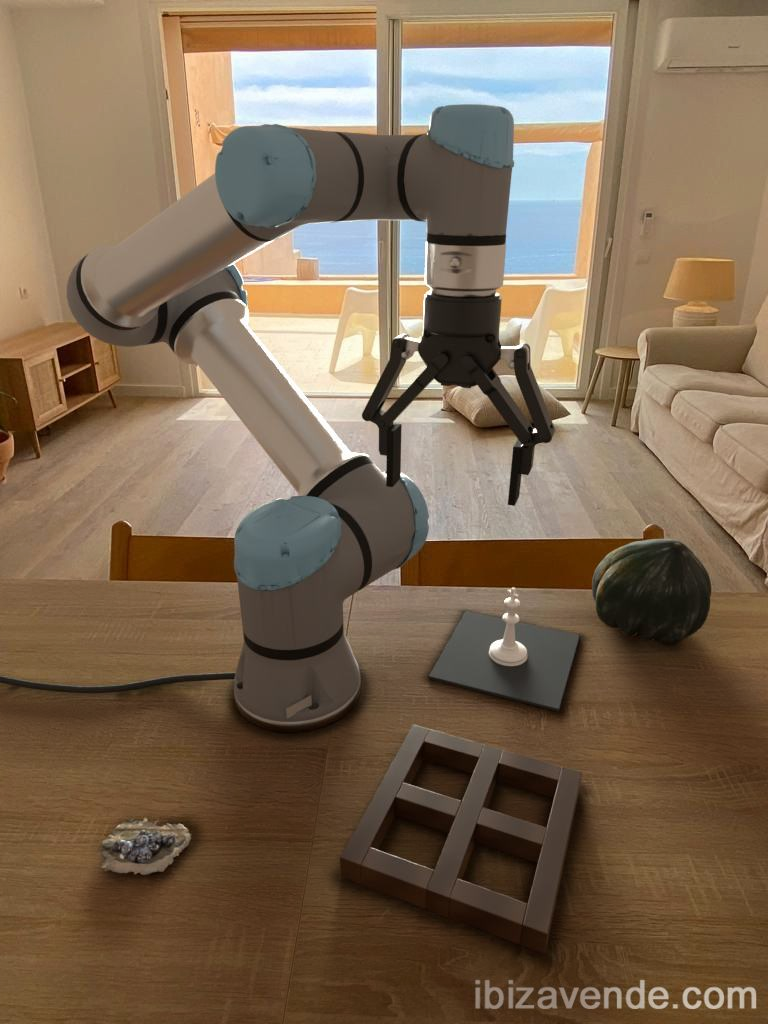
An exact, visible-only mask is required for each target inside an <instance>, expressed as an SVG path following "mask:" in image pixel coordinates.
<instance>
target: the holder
mask: <svg viewBox="0 0 768 1024" xmlns="http://www.w3.org/2000/svg"><path fill="white" fill-rule="evenodd" d="M424 760H425V761H429V762H432V763H435V764H439V765H442V766H445V767H449V768H451V769H455V770H459V771H461V772H464V773H469V774H472V775H471V777H470V780H469V782H468V785H467V786H466V790H465V792H464V795H463V797H462V800H460V799H457V798H453V797H451V796H447V795H444V794H441V793H437V792H435V791H431V790H428V789H425V788H422V787H419V786H415V785H412V783H413V781H414V779H415V777H416V775H417V773H418V771H419V769H420V768H421V765H422V763H423V761H424ZM389 765H390V766H389V767H388V769H387V771H386V772H385V774H384V776H383V778H382V780H381V782H380V784H379V785H378V787H377V789H376V790H375V792H374V795H373V796H372V798H371V800H370V802H369V804H368V806H367V807H366V809H365V811H364V813H363V815H362V816H361V818H360V820H359V822H358V823H357V826H356V827H355V829H354V831H353V833H352V834H351V837H350V838H349V840H348V842H347V843H346V846H345V847H344V849H343V851H342V853H341V854H340V856H339V864H340V877H341V878H343V879H345V880H348V881H351V882H353V883H356V884H359V885H361V886H363V887H367V888H369V889H371V890H374V891H377V892H379V893H382V894H385V895H388V896H389V897H393V898H396V899H398V900H401V901H403V902H406V903H409V904H412V905H414V906H417V907H419V908H422V909H424V910H426V911H429V912H432V913H435V914H437V915H440V916H442V917H445V918H447V919H448V918H449V919H451V920H452V921H453V920H454V921H456V922H458V923H461V924H464V925H467V926H468V927H469V926H470V927H472V928H474V929H478V930H480V931H483V932H484V933H485V932H486V933H488V934H490V935H493V936H496V937H499V938H501V939H504V940H506V941H509V942H512V943H514V944H517V945H520V946H522V947H524V948H526V949H529V950H532V951H535V952H538V953H541V954H543V955H546V952H547V947H548V943H549V938H550V933H551V928H552V923H553V919H554V914H555V909H556V904H557V900H558V896H559V890H560V885H561V881H562V875H563V872H564V871H563V870H564V866H565V862H566V857H567V851H568V847H569V843H570V838H571V833H572V828H573V823H574V819H575V813H576V809H577V805H578V800H579V795H580V791H581V790H580V789H581V783H582V775H583V772H582V771H580V770H576V769H573V768H568V767H565V766H562V765H558V764H556V763H555V764H554V763H551V762H547V761H544V760H541V759H537V758H533V757H530V756H527V755H523V754H519V753H516V752H512V751H509V750H505V749H503V748H502V749H501V748H498V747H495V746H492V745H487V744H483V743H480V742H477V741H473V740H470V739H466V738H462V737H459V736H455V735H453V734H452V735H451V734H448V733H445V732H443V731H442V732H441V731H439V730H434V729H430V728H427V727H423V726H419V725H416V724H412V725H411V727H410V729H409V731H408V732H407V734H406V736H405V738H404V740H403V741H402V743H401V745H400V747H399V749H398V750H397V753H396V755H395V756H394V758H393V760H392V762H391V763H390V764H389ZM497 782H498V783H502V784H505V785H508V786H511V787H514V788H519V789H522V790H525V791H529V792H532V793H536V794H539V795H541V796H546V797H548V798H551V799H552V798H553V800H552V805H551V809H550V813H549V816H548V821H547V825H546V826H543V825H539V824H537V823H534V822H530V821H527V820H525V819H520V818H517V817H514V816H511V815H508V814H505V813H503V812H498V811H495V810H492V809H489V808H488V807H489V805H490V801H491V799H492V796H493V793H494V792H495V791H494V790H495V788H496V785H497ZM396 817H399V818H401V819H404V820H408V821H411V822H413V823H416V824H419V825H423V826H426V827H428V828H432V829H434V830H438V831H440V832H443V833H446V834H447V837H446V840H445V842H444V845H443V846H442V847H443V848H442V850H441V853H440V855H439V857H438V861H437V863H436V865H435V867H434V869H433V868H430V867H427V866H424V865H421V864H419V863H416V862H413V861H410V860H407V859H405V858H402V857H399V856H396V855H393V854H390V853H387V852H386V851H385V852H384V851H382V850H379V849H380V847H381V846H382V843H383V841H384V840H385V838H386V835H387V833H388V832H389V830H390V827H391V825H392V823H393V822H394V819H395V818H396ZM476 844H479V845H482V846H485V847H488V848H491V849H494V850H497V851H500V852H503V853H506V854H509V855H512V856H514V857H517V858H520V859H523V860H527V861H530V862H532V863H535V864H537V865H536V868H535V872H534V877H533V881H532V884H531V889H530V893H529V897H528V901H527V902H524V901H522V900H519V899H516V898H514V897H510V896H509V895H505V894H502V893H500V892H496V891H495V890H491V889H488V888H486V887H483V886H480V885H477V884H474V883H471V882H469V881H466V880H463V878H464V875H465V874H466V873H465V872H466V871H467V867H468V865H469V862H470V859H471V855H472V852H473V850H474V847H475V845H476Z"/></svg>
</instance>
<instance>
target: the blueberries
mask: <svg viewBox="0 0 768 1024" xmlns="http://www.w3.org/2000/svg"><path fill="white" fill-rule="evenodd" d="M158 822H159V819H157V820H156V821H154V823H153V821H151V822H150V821H148V818H147V817H144V818H143V820H142V821H141V820H140V819H138V820H137V819H136V820H135V819H133V818H132V819H125V821H124V822H121V823H120V824H118V825H117V826H116V827H115V828H114V829H113V830H112V831H111V834H108V837H106V838H104V839H103V840H102V841H100V843H101V844H100V846H102V848H103V849H102V850H101V851H100V853H101V856H104V857H105V858H106V859H105V860H104V861H103V862H102V863H101V865H102V866H101V867H100V869H103V872H107V871H109V870H110V871H111V872H112V873H118V874H128V873H133V875H137V874H139V873H140V875H143V876H146V875H150V874H152V873H156V872H159V873H162V872H164V871H165V870H166V869H167V867H168V866H170V865H172V864H173V862H174V861H175V859H174V858H176V857H178V856H180V853H182V852H183V851H184V849H185V848H187V847H189V845H190V842H191V841H192V833H190V832H189V828H188V827H185V826H184V824H181V823H178V824H176V823H174V824H170V823H168V822H166V823H165V824H164V825H160V826H159V825H156V824H157V823H158Z"/></svg>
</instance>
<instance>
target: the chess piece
mask: <svg viewBox="0 0 768 1024" xmlns="http://www.w3.org/2000/svg"><path fill="white" fill-rule="evenodd" d="M506 592H507V594H508V595H509V597H508V598H507V597H506V598H505V600H504V601H503V604H504V608H505V611H506V613H504V614H503V615H502V618H501V619H503V620H504V621H505V622H507V624H506V629H505V633H504V638H503V640H498V641H496V642H494V643H493V644H492V645H491V646H490V650H489V656H490V658H491V659H492V660H493V661H495V662H496V663H498V664H501V665H504V666H517V665H521V664H523V663H524V662H525V661H526V660H527V650H526V648H525V647H524V646H523V645H522V644H521V643H519V642H517V641H516V640H515V623H517V622H520V620H521V619H520V616H519V615H518V614H517V612H518V611H519V608H520V606H521V601H520V600H519V597H520V595H519V594H518V593H517V588H516V587H515V586H512V587H511V588H510V589H507V591H506Z"/></svg>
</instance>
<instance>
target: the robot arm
mask: <svg viewBox="0 0 768 1024" xmlns="http://www.w3.org/2000/svg"><path fill="white" fill-rule="evenodd" d="M514 134H515V120H514V116H513V114H512V113H511V111H510V110H509V109H507V108H505V106H500V105H494V104H493V105H492V104H481V103H480V104H476V103H475V104H474V103H473V104H472V103H468V104H465V103H464V104H463V103H462V104H460V103H459V104H447V105H444V106H443V105H441V106H437V107H436V108H434V109H433V110H432V112H431V114H430V118H429V127H428V129H427V132H426V133H419V134H372V133H361V132H347V131H332V130H321V129H308V128H299V127H288V126H286V125H282V124H279V123H273V124H270V123H265V124H261V125H245V126H239V127H237V128H235V129H233V130H232V131H230V132H229V133H228V134H227V135H226V136H225V137H224V138H223V140H222V143H221V145H222V147H221V150H220V151H219V152H218V153H217V155H216V159H215V163H214V164H215V165H214V173H213V174H211V175H210V176H208V177H207V178H206V179H204V180H203V181H202V182H201V183H199V184H198V185H196V186H195V187H194V188H192V189H191V190H190V191H188V192H187V193H185V194H184V195H183V196H182V197H180V198H178V200H176V201H174V203H172V204H171V205H169V206H168V207H166V208H165V209H164V210H162V211H161V212H159V214H157V215H156V216H155V217H153V218H152V219H150V220H149V221H148V222H146V223H145V224H144V225H142V226H141V227H140V228H138V229H137V230H135V231H134V232H133V233H131V234H130V235H129V236H127V237H126V238H124V239H123V240H121V242H119V243H118V244H104V245H100V246H98V247H96V248H94V249H93V250H91V251H90V252H89V253H87V254H86V255H85V256H83V257H82V258H81V259H79V260H78V262H76V264H75V266H74V267H73V268H72V270H71V272H70V274H69V276H68V279H67V284H66V299H67V305H68V307H69V310H70V313H71V315H72V316H73V318H74V319H75V321H76V323H77V324H78V325H79V326H80V327H81V328H82V329H83V330H84V331H85V332H86V333H88V334H89V335H90V336H91V337H92V338H94V339H96V340H99V341H101V342H103V343H105V344H108V345H112V346H116V347H123V348H124V347H125V348H126V347H127V348H130V347H131V348H132V347H133V348H134V347H140V346H147V345H153V344H159V343H165V344H166V345H168V347H169V348H170V349H171V351H172V352H173V353H174V355H175V356H176V357H177V358H178V360H180V361H181V362H182V363H185V364H188V365H197V366H198V367H199V368H200V369H201V371H202V372H203V374H204V375H205V376H206V378H207V379H208V380H209V381H210V382H211V384H212V385H213V387H214V388H215V389H216V390H217V392H218V393H219V394H220V395H221V397H222V398H223V400H224V401H225V402H226V403H227V404H228V405H229V407H230V408H231V409H232V411H233V412H234V413H235V414H236V416H237V417H238V419H239V420H240V421H241V422H242V424H243V425H244V426H245V428H246V429H247V430H248V431H249V432H250V434H251V435H252V436H253V438H254V439H255V440H256V441H257V443H258V444H259V445H260V447H261V448H262V450H264V452H265V453H266V454H267V456H268V457H269V459H271V461H272V462H273V463H274V464H275V466H276V467H277V468H278V470H279V471H280V472H281V473H282V475H283V477H284V478H285V479H286V480H287V481H288V483H289V484H290V485H291V486H292V488H293V489H294V490H295V491H296V493H297V495H293V496H291V497H289V498H288V499H284V498H277V499H274V500H271V501H267V502H266V503H264V504H261V505H259V506H257V507H256V508H254V509H253V510H251V511H249V513H248V514H246V515H245V516H244V517H243V519H241V521H240V522H239V523H238V526H237V528H236V530H235V533H234V538H233V543H234V546H233V547H234V557H233V570H234V573H235V575H236V579H237V580H236V581H237V589H238V598H239V606H240V607H239V609H240V617H241V625H242V627H241V628H242V634H243V635H242V636H243V644H242V647H241V651H240V655H239V659H238V663H237V665H236V670H235V671H231V672H230V671H229V672H211V673H192V674H191V673H190V674H179V675H170V676H163V677H157V678H152V679H146V680H141V681H135V682H129V683H121V684H111V685H72V684H71V685H69V684H59V683H48V682H38V681H31V680H27V679H25V680H24V679H19V678H15V677H10V676H5V675H1V674H0V684H6V685H10V686H15V687H20V688H26V689H32V690H40V691H48V692H49V691H50V692H59V693H70V694H71V693H72V694H74V693H75V694H108V693H121V692H129V691H134V690H140V689H146V688H149V687H156V686H161V685H162V686H163V685H168V684H176V683H187V682H207V681H208V682H209V681H223V680H224V681H225V680H226V681H227V680H233V695H234V696H233V697H234V701H235V702H234V703H235V705H236V708H237V710H238V712H239V713H240V714H241V715H242V717H243V718H245V719H246V720H247V721H248V722H250V723H251V724H253V725H255V726H257V727H260V728H262V729H265V730H269V731H274V732H280V733H300V732H301V733H302V732H308V731H313V730H317V729H320V728H323V727H326V726H328V725H330V724H332V723H334V722H336V721H338V720H339V719H341V718H343V717H344V716H345V715H346V714H347V713H349V712H350V711H351V709H353V707H354V706H355V705H356V703H357V702H358V700H359V698H360V694H361V692H362V691H361V689H362V683H361V681H362V679H361V677H362V676H361V670H360V666H359V663H358V661H357V659H356V657H355V655H354V652H353V649H352V647H351V645H350V642H349V640H348V638H347V636H346V633H345V628H344V627H345V626H344V602H345V600H347V599H348V598H350V597H352V596H353V595H355V594H356V593H358V592H359V591H361V590H363V589H364V588H367V586H369V585H371V584H373V583H374V582H376V581H377V580H380V578H382V577H384V576H385V575H387V574H388V573H390V572H392V571H394V570H398V569H400V568H401V567H403V566H404V565H405V564H406V563H407V562H408V561H409V560H410V559H412V558H413V557H414V556H416V555H417V554H418V553H419V552H420V551H421V550H422V549H423V546H424V545H425V543H426V542H427V538H428V534H429V530H430V526H429V517H430V515H429V514H430V513H429V508H428V504H427V502H426V499H425V497H424V495H423V493H422V491H421V489H420V488H419V486H418V485H417V483H415V481H413V479H411V478H410V477H409V476H408V475H406V474H404V473H403V472H402V470H401V468H402V429H403V428H402V423H396V422H395V421H396V420H397V419H398V418H399V416H400V415H401V414H402V413H404V411H405V410H406V409H407V408H408V407H409V406H410V405H411V404H412V403H413V402H414V401H415V400H416V398H417V397H419V395H421V393H422V392H423V391H424V390H425V389H426V388H427V387H428V386H429V385H430V384H431V383H432V382H433V381H436V382H437V383H438V384H440V386H444V387H451V386H457V387H460V388H463V389H471V388H473V387H476V386H477V387H478V388H479V389H480V391H481V393H482V394H483V395H484V396H486V397H487V398H488V399H489V401H490V402H491V403H492V405H493V406H494V408H495V409H496V410H497V412H498V413H499V415H500V416H501V417H502V419H503V420H504V422H505V423H506V424H507V426H508V427H509V429H510V430H511V431H512V433H513V434H514V435H515V437H516V438H517V439H516V441H515V443H514V444H513V446H512V454H511V464H510V465H511V466H510V468H511V469H510V476H509V477H510V478H509V485H508V495H507V497H508V498H507V505H508V506H513V507H515V506H516V505H517V502H518V500H519V497H520V493H521V484H522V483H521V482H522V475H523V476H529V475H530V473H531V471H532V469H533V466H534V457H535V450H536V449H535V448H536V446H537V445H538V444H549V443H550V442H551V441H552V439H553V438H554V436H555V433H556V428H555V426H554V422H553V420H552V418H551V414H550V413H549V410H548V407H547V405H546V402H545V400H544V397H543V394H542V392H541V389H540V386H539V384H538V382H537V379H536V377H535V373H534V371H533V368H532V366H531V365H532V364H531V363H532V362H531V358H532V357H531V346H530V344H528V343H526V342H523V343H520V344H519V345H515V346H514V345H513V346H502V344H501V341H500V327H501V325H500V324H501V313H502V300H503V297H502V296H501V294H500V293H499V292H497V290H498V289H501V288H502V287H503V286H504V279H505V266H506V265H505V264H506V251H507V227H508V215H509V205H510V203H509V202H510V193H511V185H512V173H513V169H514V168H515V160H514V138H515V135H514ZM366 221H367V222H368V221H403V222H405V221H406V222H407V221H408V222H409V221H411V222H419V223H420V222H421V223H424V222H425V223H426V225H425V233H426V237H425V263H424V265H425V267H424V284H425V285H426V286H427V287H429V288H430V290H427V291H426V293H425V294H424V295H423V297H424V298H423V317H422V320H423V323H422V336H421V338H420V339H418V338H413V337H410V335H409V334H408V333H401V334H400V335H398V336H396V337H395V338H393V339H392V341H391V347H390V354H389V360H388V361H387V363H386V366H385V368H384V369H383V371H382V373H381V375H380V377H379V379H378V381H377V383H376V385H375V387H374V389H373V390H372V393H371V395H370V397H369V399H368V401H367V403H366V405H365V407H364V408H363V411H362V413H361V418H362V420H363V421H365V422H371V423H373V424H374V425H376V426H377V428H378V452H379V456H386V471H383V472H382V470H380V469H381V468H379V467H378V466H377V464H376V463H375V462H374V461H373V459H372V458H371V457H370V456H369V455H368V454H366V453H357V452H351V451H350V450H349V448H348V447H347V446H346V445H345V444H344V443H343V441H342V440H341V439H340V438H339V436H338V435H337V434H336V433H335V431H334V430H333V429H332V427H331V426H330V425H329V424H328V423H327V422H326V420H325V419H324V418H323V416H322V415H321V414H320V413H319V412H318V410H317V409H316V407H314V405H312V403H311V402H310V401H309V400H308V398H307V397H306V396H305V395H304V393H303V392H302V391H301V389H300V388H299V387H298V386H297V385H296V384H295V382H294V381H293V380H292V378H290V376H289V375H288V374H287V372H286V371H285V370H284V368H283V367H282V366H281V365H280V364H279V363H278V361H277V360H276V358H275V357H273V355H272V354H271V352H270V351H269V350H268V349H267V348H266V346H265V345H264V344H263V343H262V342H261V340H260V339H259V338H258V336H256V334H255V333H254V332H253V330H252V329H251V328H250V327H249V326H248V323H249V318H250V312H249V309H248V292H247V289H244V288H243V285H244V284H245V281H244V279H243V276H242V275H241V272H240V270H239V269H238V267H236V265H235V263H236V262H239V261H241V260H242V259H244V258H245V257H247V256H249V255H251V254H253V253H254V252H256V251H258V250H260V249H261V248H263V247H265V246H266V245H269V244H270V243H273V242H274V241H276V240H279V239H280V238H282V237H285V236H286V235H287V234H289V233H291V232H292V231H294V230H297V229H298V228H300V227H303V226H306V225H310V224H311V225H313V224H329V223H330V224H331V223H332V224H333V223H344V222H347V223H348V222H366ZM415 352H417V353H418V355H419V357H420V358H421V360H422V362H423V363H424V364H425V366H426V368H424V370H422V372H421V373H420V374H419V375H418V376H417V377H416V379H414V381H413V382H412V383H411V384H410V385H409V386H408V387H407V389H406V390H405V391H403V393H401V394H400V396H399V397H398V398H397V399H396V400H395V401H394V403H392V404H391V406H390V407H389V408H388V409H387V410H386V411H385V410H383V409H382V408H383V406H384V405H385V402H386V401H387V399H388V397H389V395H390V393H391V392H392V390H393V388H394V385H395V384H396V381H397V380H398V378H399V376H400V374H401V372H402V370H403V368H404V366H405V365H406V363H407V361H408V360H409V359H411V358H412V357H413V356H414V355H415ZM501 360H504V361H505V362H506V365H507V367H508V368H509V369H510V370H514V376H515V379H516V382H517V385H518V388H519V390H520V393H521V395H522V398H523V399H524V402H525V405H526V407H527V410H528V413H529V415H530V418H531V420H532V423H533V425H534V427H533V425H532V424H531V422H530V421H529V420H528V418H527V416H526V415H525V414H524V413H523V411H522V410H521V408H520V407H519V406H518V404H517V403H516V401H515V400H514V399H513V397H512V396H511V394H510V393H509V392H508V390H507V389H506V387H505V386H504V384H503V383H502V380H501V378H500V376H499V375H498V374H497V372H496V371H495V369H494V368H495V366H496V365H497V364H498V363H499V361H501ZM394 422H395V423H394Z"/></svg>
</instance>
